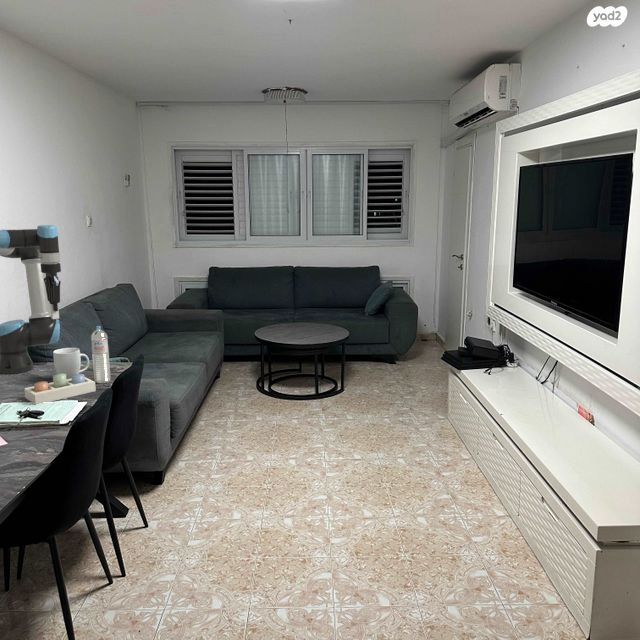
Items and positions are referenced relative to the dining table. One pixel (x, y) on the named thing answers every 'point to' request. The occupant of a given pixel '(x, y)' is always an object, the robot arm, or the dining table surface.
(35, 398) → the cream button tray
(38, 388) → the button terracotta
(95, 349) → the water bottle
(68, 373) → the mug
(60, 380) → the button sage
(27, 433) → the dining table surface
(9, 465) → the dining table surface
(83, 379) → the button blue
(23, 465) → the dining table surface
